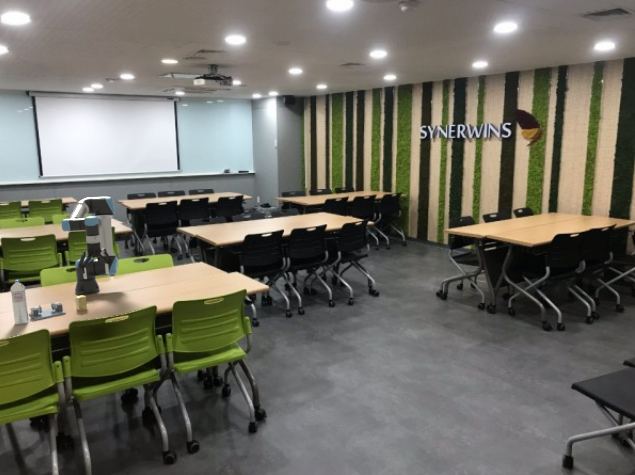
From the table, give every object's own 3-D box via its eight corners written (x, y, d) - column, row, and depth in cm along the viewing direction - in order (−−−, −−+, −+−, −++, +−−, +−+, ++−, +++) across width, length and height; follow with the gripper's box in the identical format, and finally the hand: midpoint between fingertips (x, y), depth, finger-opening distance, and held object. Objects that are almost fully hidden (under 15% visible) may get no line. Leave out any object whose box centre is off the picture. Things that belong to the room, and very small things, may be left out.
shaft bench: (28, 314, 298) (27, 304, 297) (57, 308, 309) (56, 298, 308) (36, 320, 288) (34, 309, 287) (65, 313, 299) (64, 303, 298)
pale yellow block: (76, 309, 307) (75, 296, 306) (84, 307, 310) (83, 295, 309) (79, 310, 304) (78, 298, 303) (87, 309, 307) (85, 296, 306)
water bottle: (31, 320, 287) (26, 278, 283) (24, 325, 281) (19, 281, 276) (19, 321, 287) (14, 278, 283) (12, 325, 280) (7, 282, 276)
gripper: (74, 246, 292) (78, 281, 296) (116, 240, 310) (119, 273, 314) (69, 244, 297) (73, 279, 301) (110, 238, 315) (113, 271, 319)
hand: (96, 276), depth 307 cm, fingers open, 13 cm apart
